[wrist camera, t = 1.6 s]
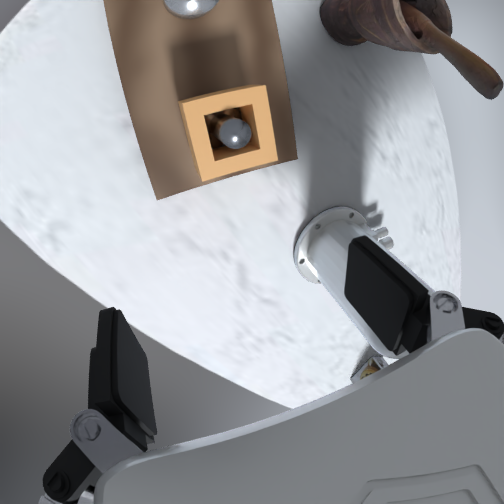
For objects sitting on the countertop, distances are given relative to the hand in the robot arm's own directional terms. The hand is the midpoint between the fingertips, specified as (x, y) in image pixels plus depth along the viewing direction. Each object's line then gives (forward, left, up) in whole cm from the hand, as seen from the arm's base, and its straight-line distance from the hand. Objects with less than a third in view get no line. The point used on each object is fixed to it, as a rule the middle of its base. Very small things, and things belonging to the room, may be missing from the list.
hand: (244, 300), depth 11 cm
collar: (-4, -3, -19) cm, 20 cm away
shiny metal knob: (-4, -3, -21) cm, 22 cm away
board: (-4, -10, -23) cm, 26 cm away
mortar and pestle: (-23, -12, -24) cm, 35 cm away
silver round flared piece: (-4, -17, -21) cm, 27 cm away
